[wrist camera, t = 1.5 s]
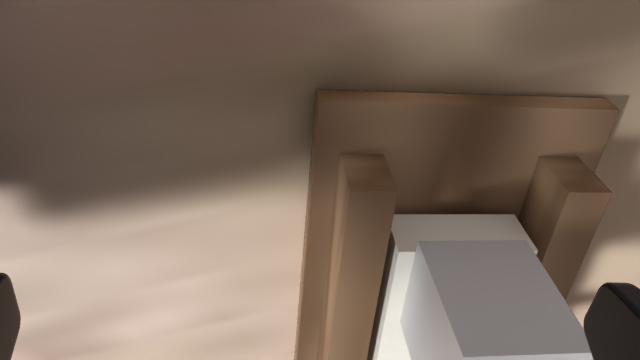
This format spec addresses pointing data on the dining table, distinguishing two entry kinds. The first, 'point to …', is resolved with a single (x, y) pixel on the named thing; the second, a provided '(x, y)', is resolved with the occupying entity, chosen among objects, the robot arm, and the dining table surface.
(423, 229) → the pale grey cube box
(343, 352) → the gauge bench
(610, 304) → the robot arm
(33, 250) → the dining table surface
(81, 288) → the dining table surface
